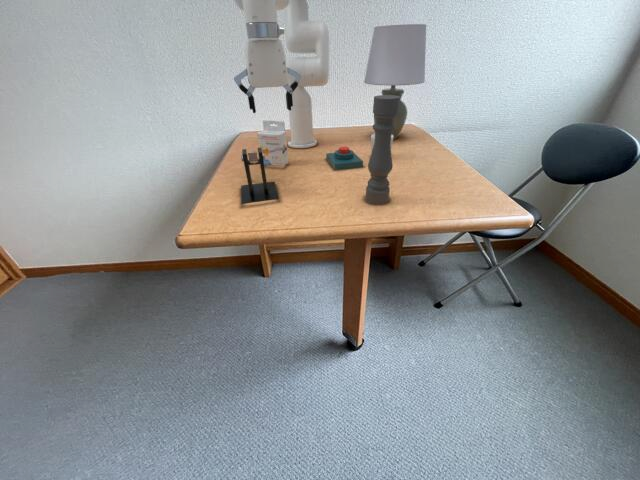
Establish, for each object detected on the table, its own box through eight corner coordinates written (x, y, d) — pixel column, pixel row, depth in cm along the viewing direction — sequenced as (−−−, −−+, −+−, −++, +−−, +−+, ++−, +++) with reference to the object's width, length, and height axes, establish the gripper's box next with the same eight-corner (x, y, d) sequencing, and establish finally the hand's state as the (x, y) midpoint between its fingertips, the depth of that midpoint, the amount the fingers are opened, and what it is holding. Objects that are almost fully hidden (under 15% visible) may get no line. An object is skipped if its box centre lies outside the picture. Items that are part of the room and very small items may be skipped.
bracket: (241, 189, 83) (232, 146, 76) (274, 185, 85) (269, 142, 78) (242, 207, 74) (231, 160, 66) (279, 202, 75) (273, 155, 68)
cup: (391, 164, 96) (394, 141, 92) (368, 163, 98) (370, 140, 93) (391, 154, 105) (393, 132, 100) (369, 153, 106) (371, 132, 102)
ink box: (261, 167, 98) (255, 123, 90) (268, 162, 102) (262, 120, 93) (283, 169, 96) (278, 124, 87) (289, 164, 100) (285, 120, 91)
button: (337, 152, 98) (337, 147, 97) (347, 151, 99) (347, 146, 98) (340, 155, 95) (340, 150, 94) (350, 154, 96) (350, 149, 95)
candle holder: (363, 195, 77) (369, 95, 63) (384, 193, 78) (396, 94, 63) (368, 205, 72) (376, 99, 58) (391, 203, 73) (405, 98, 58)
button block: (326, 159, 103) (326, 148, 101) (351, 156, 105) (352, 145, 102) (335, 170, 93) (335, 158, 91) (362, 167, 95) (363, 155, 93)
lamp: (375, 128, 139) (383, 28, 116) (422, 134, 127) (442, 24, 104) (351, 140, 123) (355, 27, 100) (402, 148, 111) (420, 22, 88)
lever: (246, 167, 83) (245, 159, 83) (263, 165, 84) (262, 157, 84) (244, 162, 71) (242, 153, 71) (263, 160, 72) (261, 151, 72)
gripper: (295, 34, 71) (299, 106, 81) (226, 35, 68) (239, 111, 77) (301, 32, 65) (305, 110, 75) (225, 33, 62) (240, 115, 71)
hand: (271, 110), depth 76 cm, fingers open, 9 cm apart
